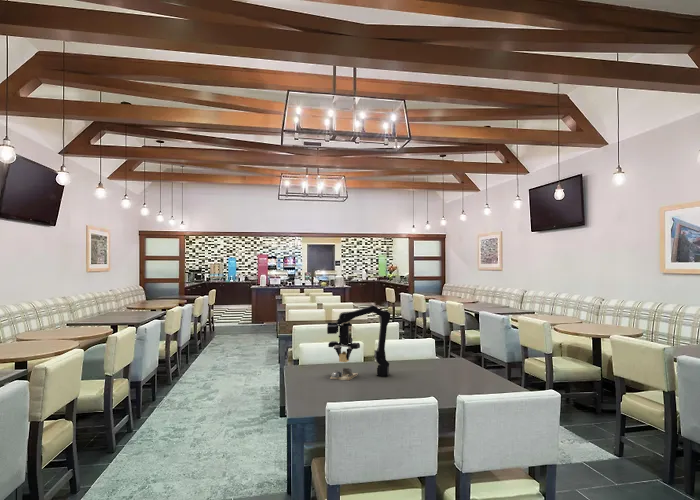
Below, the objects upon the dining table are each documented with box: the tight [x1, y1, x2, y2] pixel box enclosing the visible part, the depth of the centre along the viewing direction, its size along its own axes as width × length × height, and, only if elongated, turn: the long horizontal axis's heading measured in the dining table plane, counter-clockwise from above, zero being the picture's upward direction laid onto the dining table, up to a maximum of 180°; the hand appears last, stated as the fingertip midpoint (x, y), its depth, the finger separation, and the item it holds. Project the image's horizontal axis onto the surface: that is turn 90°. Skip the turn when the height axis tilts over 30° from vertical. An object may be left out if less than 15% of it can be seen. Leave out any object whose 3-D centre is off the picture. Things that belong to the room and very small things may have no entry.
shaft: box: [330, 370, 343, 378], centre depth 255 cm, size 6×5×3 cm
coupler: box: [338, 350, 350, 363], centre depth 259 cm, size 4×4×6 cm
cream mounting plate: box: [329, 366, 358, 381], centre depth 260 cm, size 12×16×4 cm
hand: (344, 359), depth 259 cm, fingers closed on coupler, 4 cm apart
